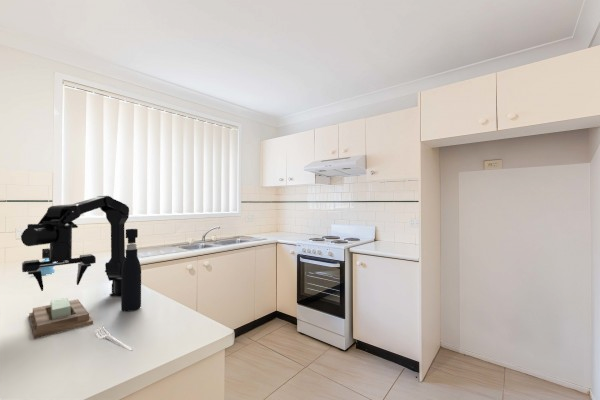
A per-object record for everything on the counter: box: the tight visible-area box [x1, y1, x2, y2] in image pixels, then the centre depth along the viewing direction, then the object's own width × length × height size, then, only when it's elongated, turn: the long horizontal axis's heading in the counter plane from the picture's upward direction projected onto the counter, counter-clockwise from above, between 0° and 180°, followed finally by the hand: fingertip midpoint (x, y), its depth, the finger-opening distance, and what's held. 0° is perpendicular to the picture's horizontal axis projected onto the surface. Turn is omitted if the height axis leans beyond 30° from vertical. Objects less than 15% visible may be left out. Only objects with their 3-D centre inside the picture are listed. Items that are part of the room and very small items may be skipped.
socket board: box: [28, 299, 94, 339], centre depth 94 cm, size 25×14×3 cm, turn 47°
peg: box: [50, 297, 71, 319], centre depth 95 cm, size 12×4×4 cm, turn 44°
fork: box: [93, 325, 134, 352], centre depth 79 cm, size 3×20×2 cm, turn 58°
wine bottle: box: [120, 228, 142, 313], centre depth 105 cm, size 6×6×30 cm
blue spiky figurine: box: [40, 258, 56, 276], centre depth 163 cm, size 18×10×9 cm, turn 43°
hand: (60, 287), depth 95 cm, fingers open, 9 cm apart
